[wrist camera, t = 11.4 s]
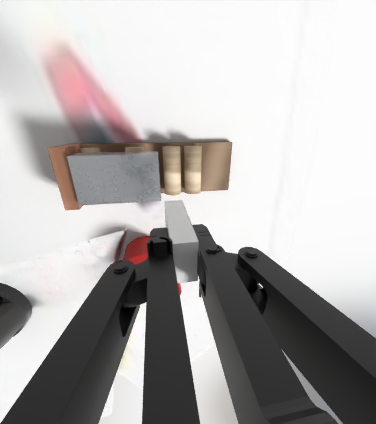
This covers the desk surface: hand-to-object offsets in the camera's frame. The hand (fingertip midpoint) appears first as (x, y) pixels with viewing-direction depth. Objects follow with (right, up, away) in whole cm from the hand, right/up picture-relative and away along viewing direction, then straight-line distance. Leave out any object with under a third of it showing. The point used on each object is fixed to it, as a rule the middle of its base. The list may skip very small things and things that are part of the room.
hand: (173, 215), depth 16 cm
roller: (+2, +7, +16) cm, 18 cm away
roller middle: (-1, +7, +16) cm, 17 cm away
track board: (-5, +8, +19) cm, 21 cm away
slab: (-10, +7, +15) cm, 19 cm away
